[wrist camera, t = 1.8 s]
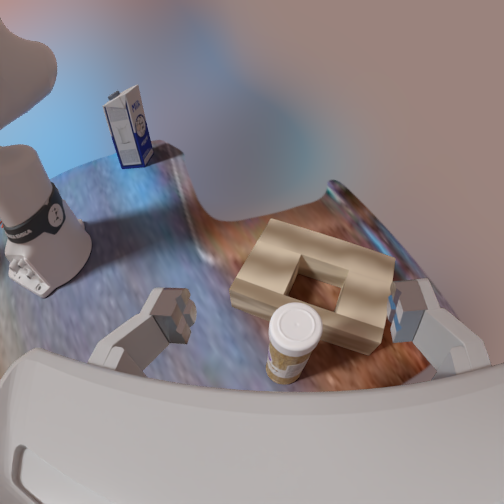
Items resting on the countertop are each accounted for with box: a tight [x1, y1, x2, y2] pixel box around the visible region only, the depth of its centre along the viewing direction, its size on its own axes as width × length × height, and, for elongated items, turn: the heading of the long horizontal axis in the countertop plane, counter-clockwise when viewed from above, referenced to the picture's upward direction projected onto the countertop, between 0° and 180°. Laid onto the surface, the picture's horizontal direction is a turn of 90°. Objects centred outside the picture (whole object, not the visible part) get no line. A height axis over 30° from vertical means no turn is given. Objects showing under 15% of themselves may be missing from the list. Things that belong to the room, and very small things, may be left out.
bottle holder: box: [229, 218, 395, 355], centre depth 38 cm, size 14×20×4 cm
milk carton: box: [103, 85, 154, 169], centre depth 58 cm, size 7×7×20 cm
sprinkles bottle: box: [266, 302, 323, 384], centre depth 28 cm, size 5×5×14 cm
